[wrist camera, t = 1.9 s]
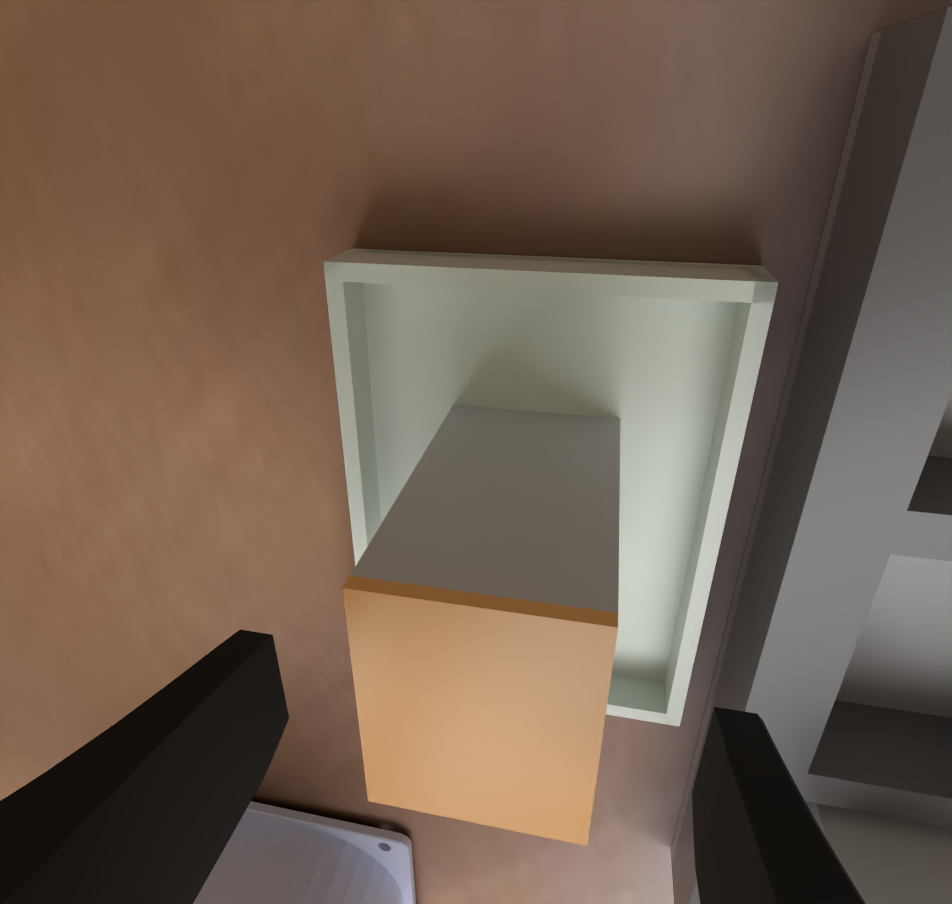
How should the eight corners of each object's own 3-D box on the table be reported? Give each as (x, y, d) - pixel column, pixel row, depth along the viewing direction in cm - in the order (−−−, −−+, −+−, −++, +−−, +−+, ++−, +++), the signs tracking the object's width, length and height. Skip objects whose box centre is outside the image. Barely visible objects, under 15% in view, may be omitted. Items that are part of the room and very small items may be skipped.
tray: (384, 636, 20) (366, 674, 19) (351, 248, 15) (322, 261, 13) (675, 681, 19) (679, 726, 17) (761, 265, 13) (778, 282, 12)
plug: (455, 568, 18) (368, 800, 12) (453, 404, 15) (342, 587, 9) (600, 587, 17) (587, 846, 11) (620, 418, 15) (618, 627, 9)
